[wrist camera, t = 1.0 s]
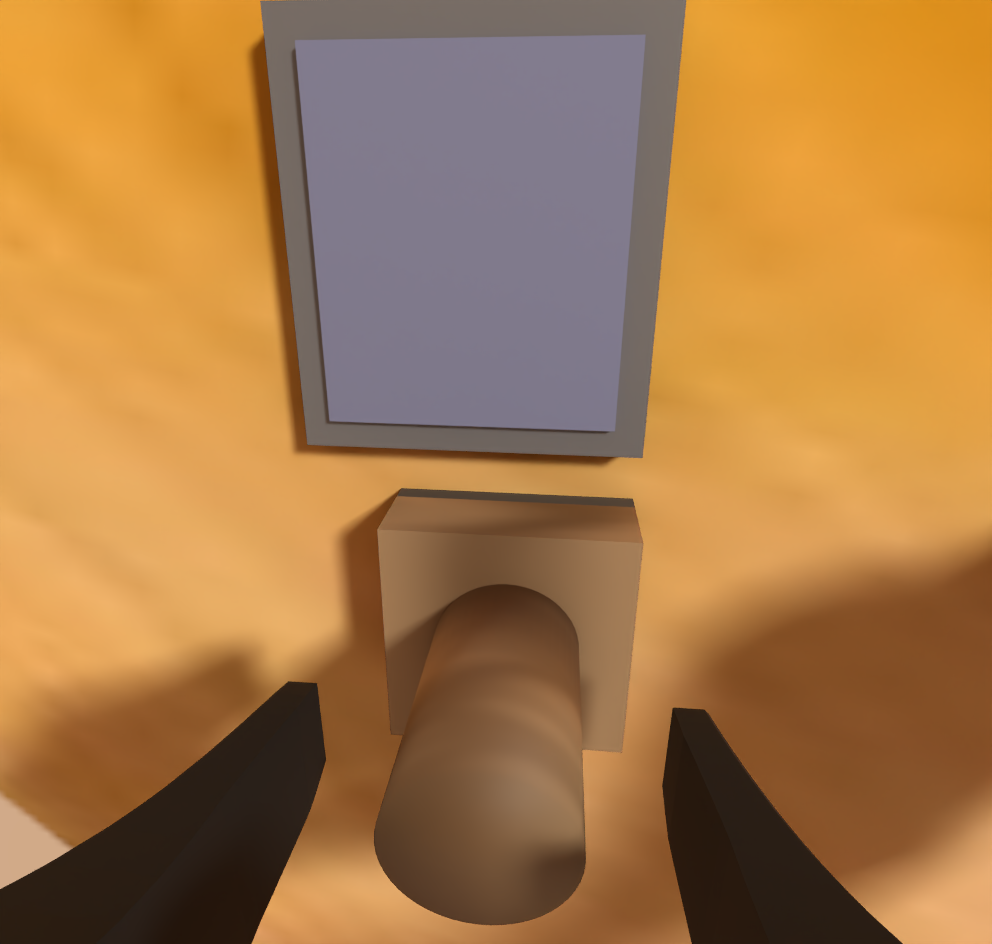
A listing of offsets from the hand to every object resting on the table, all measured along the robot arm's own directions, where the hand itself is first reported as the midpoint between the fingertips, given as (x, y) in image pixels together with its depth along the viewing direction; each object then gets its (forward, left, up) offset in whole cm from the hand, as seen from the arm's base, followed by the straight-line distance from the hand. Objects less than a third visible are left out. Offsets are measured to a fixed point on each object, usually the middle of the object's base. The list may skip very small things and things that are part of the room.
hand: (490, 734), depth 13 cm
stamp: (0, 0, -5) cm, 5 cm away
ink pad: (+1, -9, -5) cm, 10 cm away
